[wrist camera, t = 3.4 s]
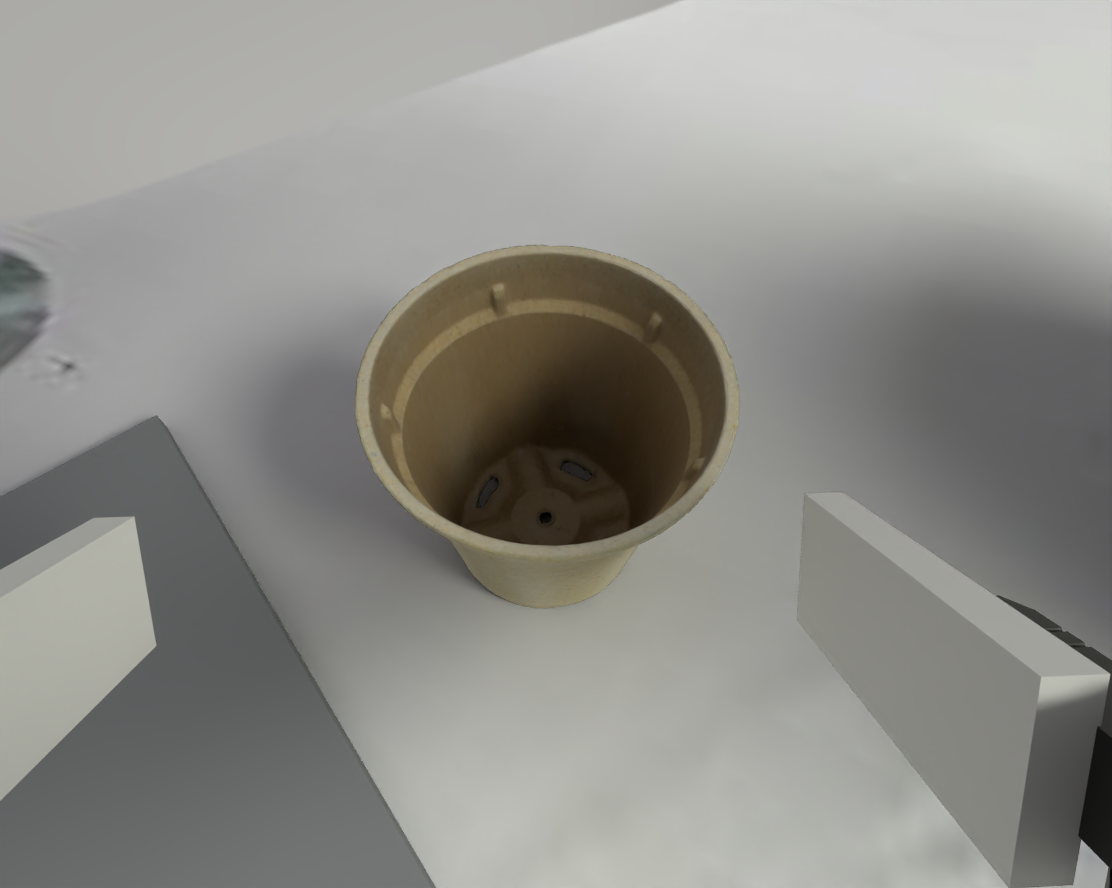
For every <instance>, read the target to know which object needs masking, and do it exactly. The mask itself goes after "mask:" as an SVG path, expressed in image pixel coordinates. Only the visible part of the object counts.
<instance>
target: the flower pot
mask: <svg viewBox="0 0 1112 888" xmlns="http://www.w3.org/2000/svg"><path fill="white" fill-rule="evenodd" d="M739 409H740V400H739V385H738V384H737V378H736V372H735V369H734V365H733V363H732V360H731V356H730V355H729V353H728V351H727V348H726V346H725V343H724V341H723V339H722V338H721V336H720V334H719V332H718V331H717V329H716V328H715V327H714V325H713V324H712V322H711V321H710V320H709V319H708V317H707V315H706V314H705V313H704V312H703V311H702V310H701V309H700V308H699V307H698V306H697V305H696V304H695V302H694V301H693V300H691V299H690V298H689V297H688V296H687V295H686V294H685V293H684V292H683V291H682V290H680V289H679V288H678V287H677V286H676V285H674V284H673V283H671V282H670V281H667V280H666V279H664V278H663V277H662V276H660V275H658V274H656V273H655V272H653V271H652V270H650V269H648V268H646V267H644V266H642V265H639V264H637V263H635V262H633V261H629V260H627V259H625V258H621V257H617V256H615V255H611V254H607V253H603V252H599V251H595V250H590V249H586V248H580V247H573V246H546V245H526V246H515V247H509V248H504V249H501V250H495V251H489V252H485V253H482V254H479V255H476V256H473V257H470V258H467V259H465V260H463V261H460V262H458V263H456V264H454V265H452V266H449V267H447V268H444V269H442V270H440V271H439V272H437V273H435V274H434V275H432V276H430V277H429V278H428V279H427V280H426V281H424V282H422V283H421V284H420V285H419V286H417V287H416V288H414V289H412V290H411V291H410V292H409V293H408V294H407V295H406V296H405V297H404V298H403V299H402V300H400V301H399V303H398V304H397V305H396V306H395V307H394V308H393V309H392V310H391V311H390V312H389V314H388V315H387V316H386V318H385V319H384V320H383V322H382V323H381V324H380V326H379V327H378V329H377V331H376V332H375V334H374V336H373V337H372V339H371V341H370V342H369V344H368V346H367V348H366V351H365V354H364V356H363V359H362V362H361V366H360V369H359V372H358V377H357V386H356V396H355V417H356V421H357V428H358V432H359V436H360V439H361V443H362V446H363V448H364V451H365V453H366V455H367V457H368V459H369V461H370V464H371V466H372V468H373V470H374V472H375V473H376V475H377V476H378V478H379V479H380V481H381V482H382V484H383V485H384V486H385V487H386V489H387V490H388V491H389V493H390V494H391V495H392V496H393V497H394V498H395V500H396V501H397V502H398V503H399V504H400V505H401V506H402V507H403V508H405V509H406V510H407V511H408V512H409V513H410V514H411V515H412V516H413V517H414V518H415V519H417V520H418V521H419V522H421V523H422V524H423V525H425V526H426V527H428V528H430V529H431V530H433V531H434V532H436V533H438V534H439V535H441V536H443V537H445V538H447V539H449V540H450V541H451V543H452V544H453V545H454V547H455V548H456V550H457V551H458V553H459V554H460V556H461V557H462V559H463V560H464V562H465V564H466V566H467V567H468V569H469V570H470V572H471V573H472V574H473V575H474V577H475V578H476V579H477V580H478V581H479V582H480V583H481V584H483V585H484V586H485V587H486V588H487V589H488V590H490V591H491V592H492V593H494V594H496V595H497V596H499V597H501V598H503V599H505V600H508V601H510V602H513V603H515V604H519V605H523V606H527V607H533V608H553V607H559V606H564V605H569V604H573V603H576V602H579V601H582V600H585V599H587V598H589V597H592V596H594V595H596V594H597V593H599V592H600V591H602V590H603V589H604V588H605V587H607V586H608V585H609V584H610V583H611V582H612V581H613V580H614V579H615V578H616V576H617V575H618V574H619V573H620V571H621V570H622V568H623V567H624V565H625V564H626V562H627V561H628V559H629V558H630V557H631V555H632V554H633V552H634V551H635V549H636V548H637V547H638V545H639V544H641V543H643V542H646V541H648V540H650V539H651V538H653V537H655V536H657V535H659V534H661V533H662V532H664V531H665V530H666V529H668V528H669V527H671V526H672V525H674V524H675V523H676V522H678V521H679V520H680V519H681V518H682V517H684V516H685V515H686V514H687V513H689V512H690V511H691V510H692V509H693V508H694V507H695V506H696V505H697V504H698V503H699V501H700V500H701V499H702V498H703V497H704V495H705V494H706V493H707V492H708V491H709V489H710V488H711V487H712V485H713V484H714V482H715V481H716V479H717V478H718V476H719V474H720V473H721V471H722V469H723V467H724V465H725V463H726V461H727V459H728V456H729V454H730V451H731V449H732V445H733V442H734V439H735V434H736V430H737V426H738V419H739ZM564 461H571V462H574V463H576V464H578V465H579V466H580V467H582V468H583V469H584V470H588V471H589V472H590V473H591V475H592V477H590V479H589V480H583V479H581V478H579V477H577V476H574V475H573V474H571V473H569V472H566V471H565V470H561V464H562V463H563V462H564ZM492 478H497V479H498V481H499V486H498V487H497V489H496V490H495V491H494V492H493V493H492V494H491V495H490V497H489V499H488V501H487V503H486V504H485V506H484V507H482V508H480V507H477V504H478V502H479V496H480V494H481V493H482V490H483V489H484V487H485V485H486V483H487V482H488V481H489V480H491V479H492ZM544 512H547V513H550V514H551V516H552V519H551V521H550V522H549V523H542V522H541V521H540V515H541V514H542V513H544Z"/></svg>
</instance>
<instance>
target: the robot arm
mask: <svg viewBox="0 0 1112 888" xmlns="http://www.w3.org/2000/svg"><path fill="white" fill-rule="evenodd" d="M797 621H798V622H799V623H800V624H801V626H802V627H803V628H804V630H805V631H806V632H807V633H808V635H809V636H810V637H811V638H812V640H813V641H814V642H815V643H816V645H817V646H818V647H819V649H820V650H821V651H822V652H823V654H824V655H825V656H826V657H827V659H828V660H829V661H830V662H831V664H832V665H833V666H834V667H835V669H836V670H837V671H838V673H839V674H840V675H841V676H842V678H843V679H844V680H845V681H846V683H847V684H848V685H849V686H850V688H851V689H852V690H853V692H854V693H855V694H856V695H857V697H858V698H859V699H860V700H861V702H862V703H863V704H864V705H865V707H866V708H867V709H868V710H869V712H870V713H871V714H872V716H873V717H874V718H875V719H876V721H877V722H878V723H879V724H880V726H881V727H882V728H883V729H884V731H885V732H886V733H887V735H888V736H889V737H890V738H891V740H892V741H893V742H894V743H895V745H896V746H897V747H898V748H899V750H900V751H901V752H902V753H903V755H904V756H905V757H906V759H907V760H908V761H909V762H910V764H911V765H912V766H913V767H914V769H915V770H916V771H917V772H918V774H919V775H920V776H921V777H922V779H923V780H924V781H925V783H926V784H927V785H928V786H929V788H930V789H931V790H932V791H933V793H934V794H935V795H936V796H937V798H938V799H939V800H940V802H941V803H942V804H943V805H944V807H945V808H946V809H947V810H948V812H949V813H950V814H951V815H952V817H953V818H954V819H955V820H956V822H957V823H958V824H959V826H960V827H961V828H962V829H963V831H964V832H965V833H966V834H967V836H968V837H969V838H970V839H971V841H972V842H973V843H974V845H975V846H976V847H977V848H978V850H979V851H980V852H981V853H982V855H983V856H984V857H985V858H986V860H987V861H988V862H989V863H990V865H991V866H992V867H993V869H994V870H995V871H996V872H997V874H998V875H999V876H1000V877H1001V879H1002V880H1003V881H1004V882H1005V884H1006V885H1007V886H1008V888H1026V887H1044V886H1063V885H1073V882H1074V877H1075V871H1076V865H1077V860H1078V854H1079V848H1080V843H1081V839H1082V840H1083V841H1084V842H1085V843H1086V844H1087V845H1088V846H1089V847H1090V848H1091V849H1092V850H1093V852H1094V853H1095V854H1096V855H1097V856H1098V857H1099V858H1100V859H1101V860H1102V861H1103V862H1104V863H1105V864H1106V865H1107V866H1108V867H1109V868H1108V873H1107V879H1106V884H1105V888H1112V660H1110V659H1109V658H1107V657H1105V656H1104V655H1102V654H1101V653H1099V652H1098V651H1096V650H1095V649H1093V648H1092V647H1086V646H1085V643H1084V642H1083V641H1081V640H1079V639H1078V638H1076V637H1075V636H1073V635H1072V634H1070V633H1069V632H1063V631H1062V628H1061V627H1060V626H1058V625H1057V624H1055V623H1053V622H1052V621H1050V620H1049V619H1047V618H1046V617H1044V616H1043V615H1041V614H1040V613H1038V612H1037V611H1035V610H1033V609H1030V608H1028V607H1026V606H1023V605H1021V604H1018V603H1016V602H1013V601H1011V600H1008V599H1006V598H1003V597H1001V596H995V595H993V594H992V593H990V592H989V591H987V590H986V589H984V588H983V587H982V586H980V585H979V584H977V583H976V582H974V581H973V580H971V579H970V578H968V577H967V576H965V575H964V574H962V573H961V572H959V571H958V570H956V569H955V568H954V567H952V566H951V565H949V564H948V563H946V562H945V561H943V560H942V559H940V558H939V557H937V556H936V555H934V554H933V553H931V552H930V551H928V550H927V549H925V548H924V547H923V546H921V545H920V544H918V543H917V542H915V541H914V540H912V539H911V538H909V537H908V536H906V535H905V534H903V533H902V532H900V531H899V530H897V529H896V528H895V527H893V526H892V525H890V524H889V523H887V522H886V521H884V520H883V519H881V518H880V517H878V516H877V515H875V514H874V513H872V512H871V511H869V510H868V509H866V508H865V507H864V506H862V505H861V504H859V503H858V502H856V501H855V500H853V499H852V498H850V497H849V496H847V495H846V494H844V493H843V492H831V493H805V494H804V510H803V526H802V543H801V559H800V575H799V591H798V608H797ZM155 647H156V641H155V635H154V629H153V623H152V617H151V611H150V605H149V599H148V594H147V588H146V582H145V576H144V570H143V564H142V558H141V552H140V546H139V541H138V535H137V529H136V523H135V517H134V516H133V517H104V518H93V519H91V520H89V521H87V522H86V523H84V524H82V525H80V526H78V527H76V528H75V529H73V530H71V531H69V532H67V533H66V534H64V535H62V536H60V537H58V538H57V539H55V540H53V541H51V542H49V543H48V544H46V545H44V546H42V547H40V548H39V549H37V550H35V551H33V552H31V553H30V554H28V555H26V556H24V557H22V558H21V559H19V560H17V561H15V562H13V563H12V564H10V565H8V566H6V567H4V568H3V569H1V570H0V801H1V800H2V799H3V798H4V797H5V796H6V795H7V794H8V793H9V792H10V791H11V790H12V789H13V788H14V787H15V786H16V785H17V784H18V783H19V782H20V781H21V780H22V779H23V778H24V777H25V776H26V775H27V774H28V773H29V772H30V771H31V770H32V769H33V768H34V767H35V766H36V765H37V764H38V763H39V762H40V761H41V760H42V759H43V758H44V757H45V756H46V755H47V754H48V753H49V752H50V751H51V750H52V749H53V748H54V747H55V746H56V745H57V744H58V743H59V742H60V741H61V740H62V739H63V738H64V737H65V736H66V735H67V734H68V733H69V732H70V731H71V730H72V729H73V728H74V727H75V726H76V725H77V724H78V723H79V722H80V721H81V720H82V719H83V718H84V717H85V716H86V715H87V714H88V713H89V712H90V711H91V710H92V709H93V708H94V707H95V706H96V705H97V704H98V703H99V702H100V701H101V700H102V699H103V698H104V697H105V696H106V695H107V694H108V693H109V692H110V691H111V690H112V689H113V688H114V687H115V686H116V685H117V684H118V683H119V682H120V681H121V680H122V679H123V678H124V677H125V676H126V675H127V674H128V673H129V672H130V671H131V670H132V669H133V668H134V667H135V666H137V665H138V664H139V663H140V662H141V661H142V660H143V659H144V658H145V657H146V656H147V655H148V654H149V653H150V652H151V651H152V650H153V649H154V648H155Z"/></svg>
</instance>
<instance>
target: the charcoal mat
mask: <svg viewBox="0 0 1112 888" xmlns="http://www.w3.org/2000/svg"><path fill="white" fill-rule="evenodd" d="M133 516H134V517H135V523H136V529H137V535H138V541H139V546H140V552H141V558H142V564H143V570H144V576H145V582H146V588H147V594H148V599H149V605H150V611H151V617H152V623H153V629H154V635H155V641H156V647H155V648H154V649H153V650H152V651H151V652H150V653H149V654H148V655H147V656H146V657H145V658H144V659H143V660H142V661H141V662H140V663H139V664H138V665H137V666H135V667H134V668H133V669H132V670H131V671H130V672H129V673H128V674H127V675H126V676H125V677H124V678H123V679H122V680H121V681H120V682H119V683H118V684H117V685H116V686H115V687H114V688H113V689H112V690H111V691H110V692H109V693H108V694H107V695H106V696H105V697H104V698H103V699H102V700H101V701H100V702H99V703H98V704H97V705H96V706H95V707H94V708H93V709H92V710H91V711H90V712H89V713H88V714H87V715H86V716H85V717H84V718H83V719H82V720H81V721H80V722H79V723H78V724H77V725H76V726H75V727H74V728H73V729H72V730H71V731H70V732H69V733H68V734H67V735H66V736H65V737H64V738H63V739H62V740H61V741H60V742H59V743H58V744H57V745H56V746H55V747H54V748H53V749H52V750H51V751H50V752H49V753H48V754H47V755H46V756H45V757H44V758H43V759H42V760H41V761H40V762H39V763H38V764H37V765H36V766H35V767H34V768H33V769H32V770H31V771H30V772H29V773H28V774H27V775H26V776H25V777H24V778H23V779H22V780H21V781H20V782H19V783H18V784H17V785H16V786H15V787H14V788H13V789H12V790H11V791H10V792H9V793H8V794H7V795H6V796H5V797H4V798H3V799H2V800H1V801H0V888H436V887H435V886H434V884H433V882H432V880H431V879H430V877H429V875H428V874H427V872H426V870H425V868H424V867H423V865H422V863H421V862H420V860H419V858H418V856H417V855H416V853H415V851H414V850H413V848H412V846H411V844H410V843H409V841H408V839H407V838H406V836H405V834H404V832H403V831H402V829H401V827H400V826H399V824H398V822H397V820H396V819H395V817H394V815H393V814H392V812H391V810H390V808H389V807H388V805H387V803H386V802H385V800H384V798H383V796H382V795H381V793H380V791H379V790H378V788H377V786H376V785H375V783H374V781H373V779H372V778H371V776H370V774H369V773H368V771H367V769H366V767H365V766H364V764H363V762H362V761H361V759H360V757H359V755H358V754H357V752H356V750H355V749H354V747H353V745H352V743H351V742H350V740H349V738H348V737H347V735H346V733H345V731H344V730H343V728H342V726H341V725H340V723H339V721H338V719H337V718H336V716H335V714H334V713H333V711H332V709H331V707H330V706H329V704H328V702H327V701H326V699H325V697H324V695H323V694H322V692H321V690H320V689H319V687H318V685H317V684H316V682H315V680H314V678H313V677H312V675H311V673H310V672H309V670H308V668H307V666H306V665H305V663H304V661H303V660H302V658H301V656H300V654H299V653H298V651H297V649H296V648H295V646H294V644H293V642H292V641H291V639H290V637H289V636H288V634H287V632H286V630H285V629H284V627H283V625H282V624H281V622H280V620H279V618H278V617H277V615H276V613H275V612H274V610H273V608H272V606H271V605H270V603H269V601H268V600H267V598H266V596H265V594H264V593H263V591H262V589H261V588H260V586H259V584H258V582H257V581H256V579H255V577H254V576H253V574H252V572H251V571H250V569H249V567H248V565H247V564H246V562H245V560H244V559H243V557H242V555H241V553H240V552H239V550H238V548H237V547H236V545H235V543H234V541H233V540H232V538H231V536H230V535H229V533H228V531H227V529H226V528H225V526H224V524H223V523H222V521H221V519H220V517H219V516H218V514H217V512H216V511H215V509H214V507H213V505H212V504H211V502H210V500H209V499H208V497H207V495H206V493H205V492H204V490H203V488H202V487H201V485H200V483H199V481H198V480H197V478H196V476H195V475H194V473H193V471H192V470H191V468H190V466H189V464H188V463H187V461H186V459H185V458H184V456H183V454H182V452H181V451H180V449H179V447H178V446H177V444H176V442H175V440H174V439H173V437H172V435H171V434H170V432H169V430H168V428H167V427H166V426H165V425H164V423H163V422H162V421H161V420H160V419H159V418H158V416H157V415H156V416H154V417H152V418H151V419H149V420H147V421H145V422H143V423H141V424H139V425H137V426H135V427H133V428H132V429H130V430H128V431H126V432H124V433H122V434H120V435H118V436H116V437H114V438H112V439H111V440H109V441H107V442H105V443H103V444H101V445H99V446H97V447H95V448H93V449H91V450H90V451H88V452H86V453H84V454H82V455H80V456H78V457H76V458H74V459H72V460H71V461H69V462H67V463H65V464H63V465H61V466H59V467H57V468H55V469H53V470H51V471H50V472H48V473H46V474H44V475H42V476H40V477H38V478H36V479H34V480H32V481H30V482H29V483H27V484H25V485H23V486H21V487H19V488H17V489H15V490H13V491H11V492H10V493H8V494H6V495H4V496H2V497H0V570H1V569H3V568H4V567H6V566H8V565H10V564H12V563H13V562H15V561H17V560H19V559H21V558H22V557H24V556H26V555H28V554H30V553H31V552H33V551H35V550H37V549H39V548H40V547H42V546H44V545H46V544H48V543H49V542H51V541H53V540H55V539H57V538H58V537H60V536H62V535H64V534H66V533H67V532H69V531H71V530H73V529H75V528H76V527H78V526H80V525H82V524H84V523H86V522H87V521H89V520H91V519H93V518H104V517H133Z"/></svg>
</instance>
